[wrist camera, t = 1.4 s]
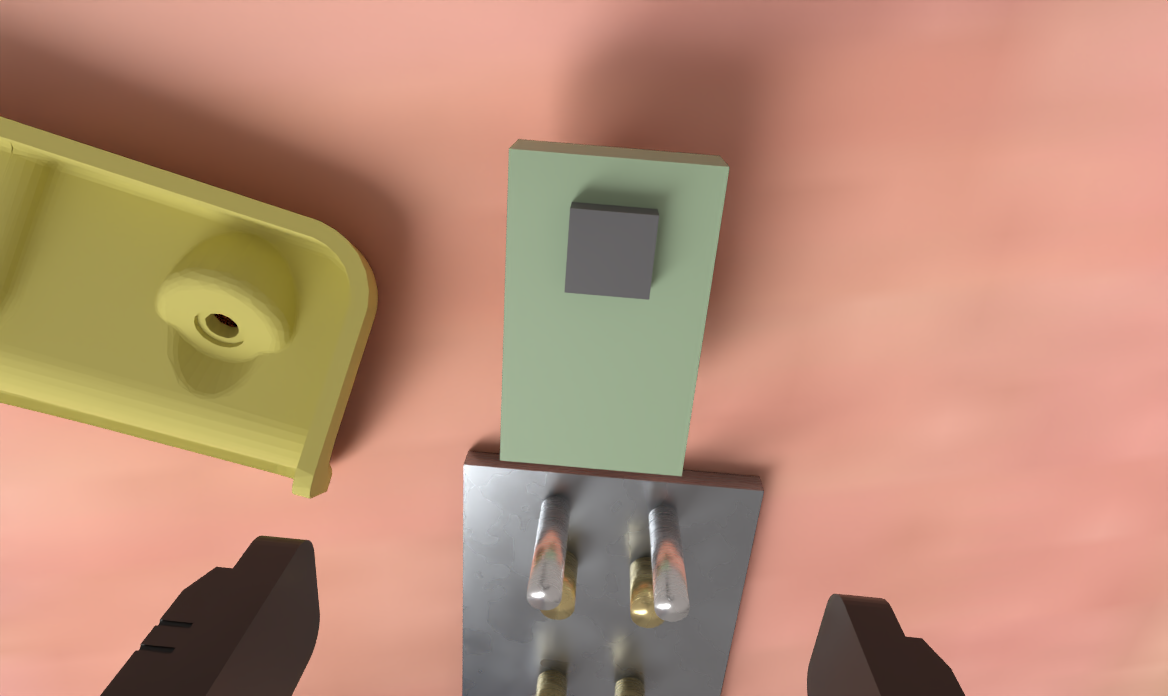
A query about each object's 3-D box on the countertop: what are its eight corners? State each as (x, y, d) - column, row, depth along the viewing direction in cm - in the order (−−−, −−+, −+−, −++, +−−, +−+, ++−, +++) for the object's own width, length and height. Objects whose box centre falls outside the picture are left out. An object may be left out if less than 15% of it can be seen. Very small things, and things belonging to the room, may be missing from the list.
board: (518, 139, 21) (504, 152, 18) (719, 155, 21) (733, 172, 18) (508, 429, 25) (495, 474, 22) (676, 444, 25) (683, 490, 22)
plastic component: (388, 242, 23) (294, 534, 23) (405, 266, 30) (334, 487, 30) (-302, 17, 20) (-428, 354, 19) (-98, 103, 27) (-186, 350, 27)
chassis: (468, 451, 29) (433, 547, 23) (759, 476, 29) (792, 579, 23) (466, 721, 35) (438, 846, 30) (703, 743, 35) (719, 872, 30)
